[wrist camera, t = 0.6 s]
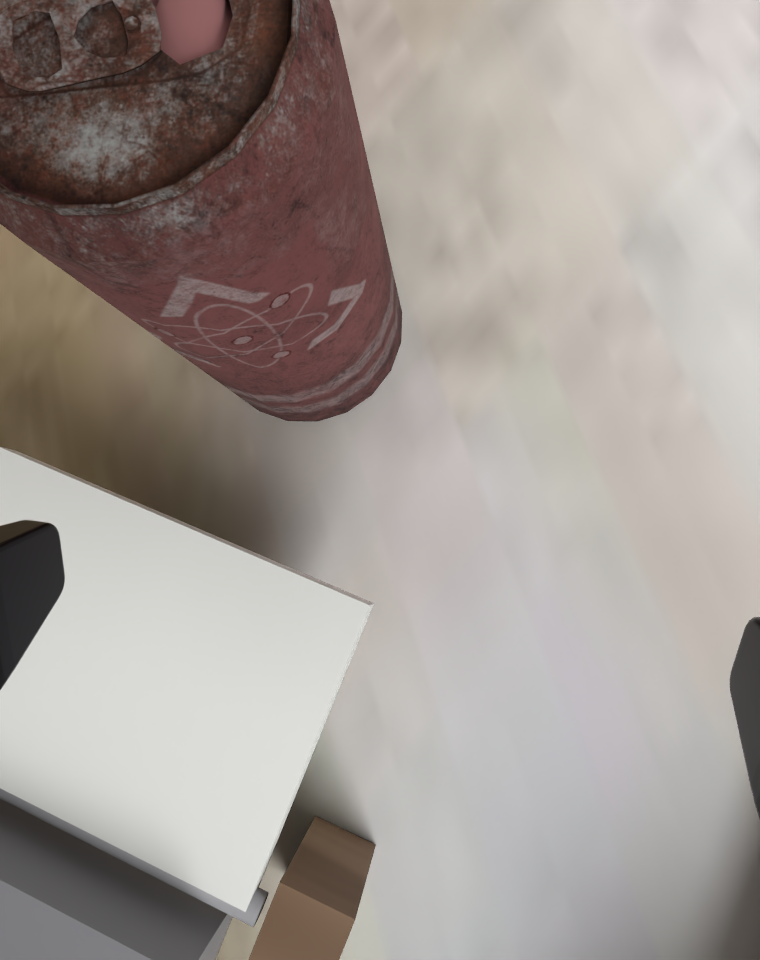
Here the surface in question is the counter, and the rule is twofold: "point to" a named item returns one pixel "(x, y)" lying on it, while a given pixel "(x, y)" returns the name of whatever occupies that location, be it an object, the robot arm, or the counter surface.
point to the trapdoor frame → (316, 897)
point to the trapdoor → (154, 727)
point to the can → (205, 186)
